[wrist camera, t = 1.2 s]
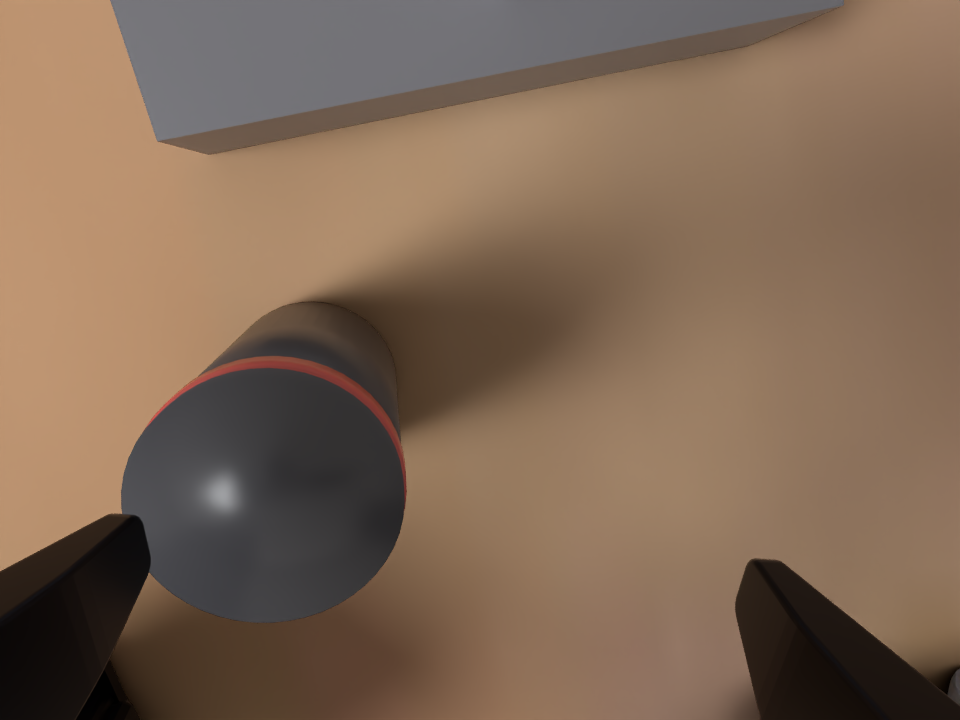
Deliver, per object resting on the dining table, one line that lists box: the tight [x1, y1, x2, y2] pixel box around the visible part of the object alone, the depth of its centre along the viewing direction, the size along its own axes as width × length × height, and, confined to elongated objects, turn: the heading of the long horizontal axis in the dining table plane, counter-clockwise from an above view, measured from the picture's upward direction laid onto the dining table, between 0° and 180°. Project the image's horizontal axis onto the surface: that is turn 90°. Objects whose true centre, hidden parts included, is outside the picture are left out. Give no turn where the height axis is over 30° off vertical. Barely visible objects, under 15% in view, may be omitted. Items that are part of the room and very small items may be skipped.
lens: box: [121, 302, 407, 623], centre depth 15 cm, size 5×5×8 cm
